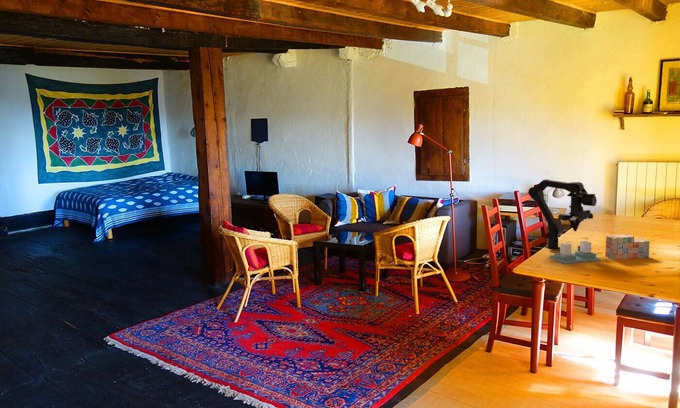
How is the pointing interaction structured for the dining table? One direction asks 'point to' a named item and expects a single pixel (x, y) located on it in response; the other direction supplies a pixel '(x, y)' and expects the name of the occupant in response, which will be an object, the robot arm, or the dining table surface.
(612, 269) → the dining table surface
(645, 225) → the dining table surface
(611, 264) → the dining table surface
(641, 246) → the stack of blocks
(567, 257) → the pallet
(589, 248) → the steel billet
